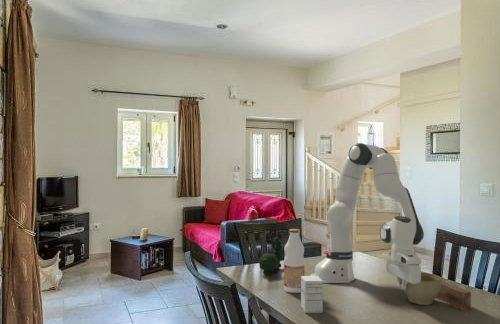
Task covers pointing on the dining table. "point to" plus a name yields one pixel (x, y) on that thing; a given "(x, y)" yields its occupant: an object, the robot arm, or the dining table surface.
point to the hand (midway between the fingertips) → (402, 288)
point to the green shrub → (272, 259)
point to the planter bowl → (424, 289)
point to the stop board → (455, 296)
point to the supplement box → (311, 294)
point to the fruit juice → (293, 262)
